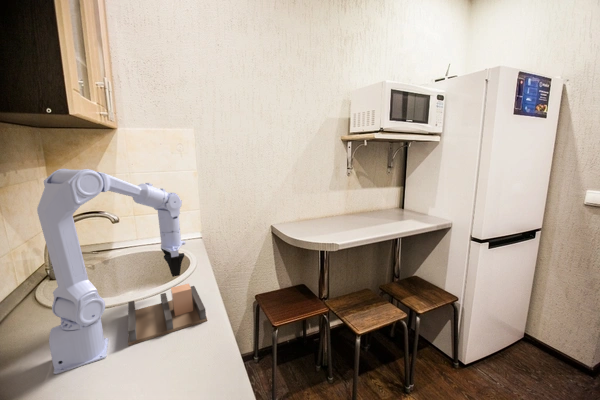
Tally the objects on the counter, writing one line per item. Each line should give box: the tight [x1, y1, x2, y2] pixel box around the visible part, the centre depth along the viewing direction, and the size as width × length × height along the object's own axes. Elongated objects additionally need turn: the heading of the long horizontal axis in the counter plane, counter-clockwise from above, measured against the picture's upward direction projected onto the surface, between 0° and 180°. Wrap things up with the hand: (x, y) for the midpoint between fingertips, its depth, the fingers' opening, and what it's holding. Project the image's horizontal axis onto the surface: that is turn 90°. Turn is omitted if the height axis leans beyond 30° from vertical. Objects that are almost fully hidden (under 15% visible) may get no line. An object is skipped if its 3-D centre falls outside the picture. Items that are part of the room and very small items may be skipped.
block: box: [170, 283, 193, 316], centre depth 82 cm, size 5×4×7 cm
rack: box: [127, 285, 208, 346], centre depth 80 cm, size 19×16×4 cm
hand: (174, 271), depth 89 cm, fingers open, 7 cm apart
